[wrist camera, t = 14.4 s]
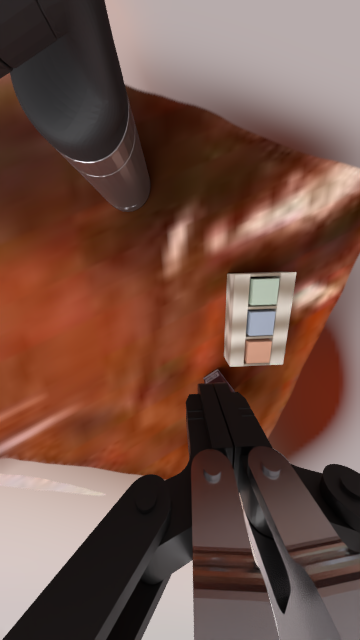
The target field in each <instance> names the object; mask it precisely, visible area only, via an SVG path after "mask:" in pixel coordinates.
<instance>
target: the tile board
mask: <svg viewBox="0 0 360 640" xmlns="http://www.w3.org/2000/svg"><path fill="white" fill-rule="evenodd" d="M256 276H268V277H270V278H279V279H280V280H279V288H278V296H277V304H271V305H250V304H248V299H249V286H250V277H256ZM295 279H296V272H260V273H232V274H227V295H226V319H225V343H224V357H225V359H226V361H227V362H228V364H229V366H230V367H238V366H259V365H280V364H283V361H284V354H285V347H286V340H287V333H288V327H289V320H290V313H291V306H292V299H293V293H294V286H295ZM250 309H271V310H273V311H275V312H276V313H275V321H274V329H273V335H257V336H249V335H248V334H247V333H246V325H247V312H248V310H250ZM263 338H268V339H269V340H271V341H272V346H271V354H270V362H269V363H248V364H247V363H246V362H245V360H244V351H245V339H263Z"/></svg>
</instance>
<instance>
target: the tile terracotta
mask: <svg viewBox="0 0 360 640" xmlns="http://www.w3.org/2000/svg"><path fill="white" fill-rule="evenodd" d="M271 346H272V341H271V340H269V339H268V338H263V339H245V351H244V360H245V362H246V363H247V364H248V363H269V362H270V354H271Z"/></svg>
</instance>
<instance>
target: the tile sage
mask: <svg viewBox="0 0 360 640" xmlns="http://www.w3.org/2000/svg"><path fill="white" fill-rule="evenodd" d="M279 280H280V279H279V278H270V277H266V278H250V286H249V299H248V304H250V305H271V304H277V296H278V288H279Z"/></svg>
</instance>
